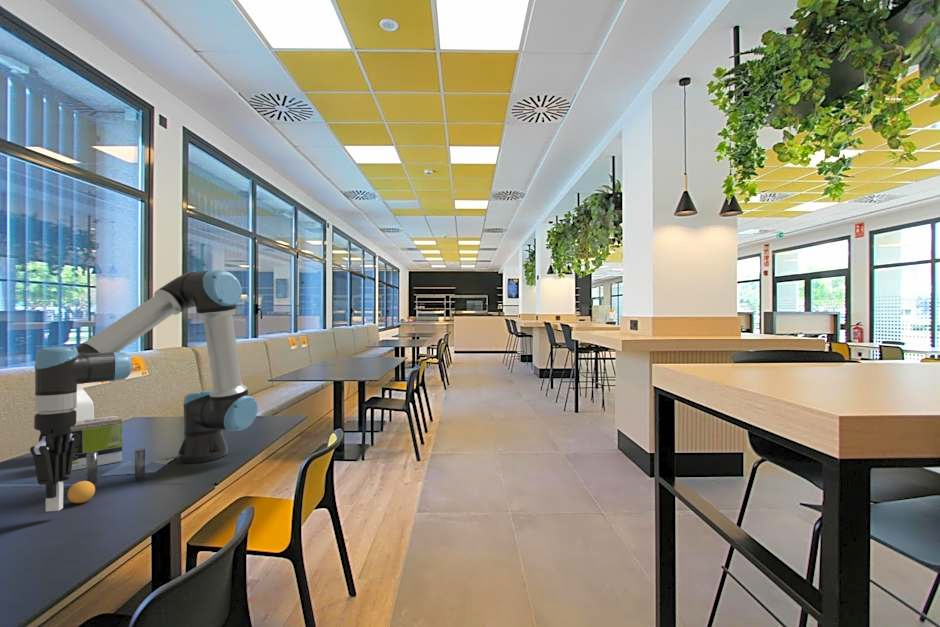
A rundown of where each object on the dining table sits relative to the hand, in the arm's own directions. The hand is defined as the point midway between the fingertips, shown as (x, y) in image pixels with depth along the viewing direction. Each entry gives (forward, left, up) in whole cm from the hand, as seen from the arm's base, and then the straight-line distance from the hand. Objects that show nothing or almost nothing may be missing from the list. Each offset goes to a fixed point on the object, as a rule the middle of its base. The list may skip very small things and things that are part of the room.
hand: (54, 509), depth 108 cm
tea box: (+18, -48, -3) cm, 51 cm away
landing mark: (0, -40, -2) cm, 40 cm away
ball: (0, -10, +1) cm, 10 cm away
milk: (+32, -60, -2) cm, 68 cm away
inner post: (-6, -26, -2) cm, 27 cm away
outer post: (+6, -26, -2) cm, 27 cm away
